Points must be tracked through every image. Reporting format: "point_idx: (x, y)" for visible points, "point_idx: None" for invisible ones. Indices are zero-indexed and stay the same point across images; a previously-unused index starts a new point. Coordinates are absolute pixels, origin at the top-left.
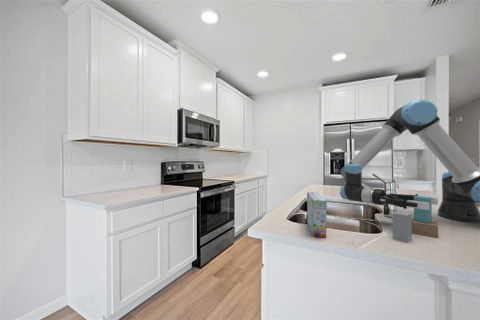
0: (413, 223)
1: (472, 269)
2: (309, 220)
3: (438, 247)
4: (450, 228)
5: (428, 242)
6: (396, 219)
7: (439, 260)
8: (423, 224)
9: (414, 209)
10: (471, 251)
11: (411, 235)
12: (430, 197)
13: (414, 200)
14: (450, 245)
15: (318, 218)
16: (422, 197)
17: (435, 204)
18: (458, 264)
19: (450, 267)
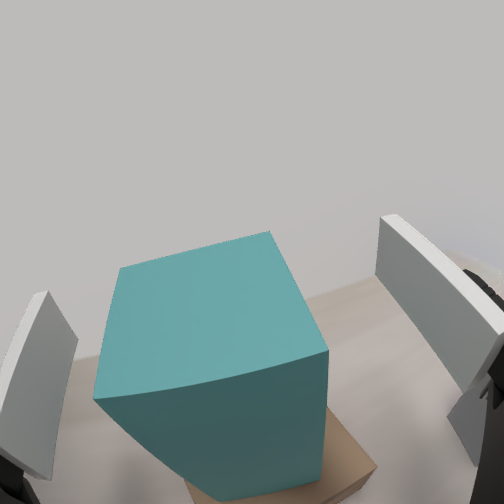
0: (364, 458)
1: (447, 251)
2: None
3: (412, 337)
4: (65, 422)
5: (402, 377)
6: None
7: (486, 283)
8: (332, 414)
9: (322, 442)
10: (332, 297)
11: (456, 404)
12: (167, 256)
13: (325, 383)
14: (343, 338)
15: None
16: (271, 272)
17: (75, 348)
18: (457, 265)
19: (485, 262)
